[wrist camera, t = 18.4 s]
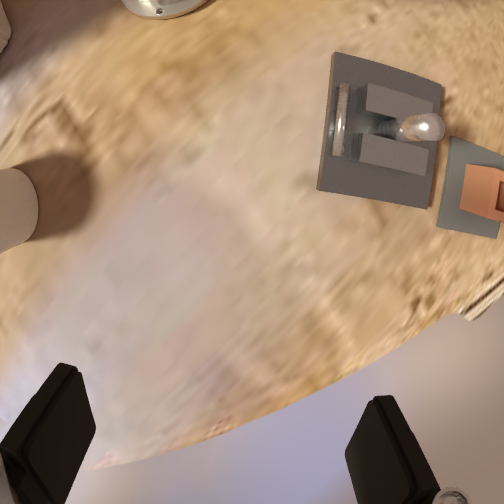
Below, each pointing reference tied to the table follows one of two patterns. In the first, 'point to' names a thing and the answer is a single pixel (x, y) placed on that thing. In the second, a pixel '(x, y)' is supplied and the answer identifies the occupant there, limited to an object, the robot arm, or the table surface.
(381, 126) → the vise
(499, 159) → the mat
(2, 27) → the jerry can
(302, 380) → the table surface
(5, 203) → the mug
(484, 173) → the collar
